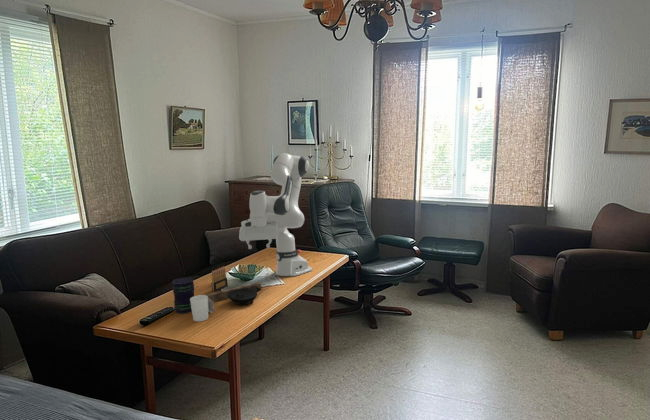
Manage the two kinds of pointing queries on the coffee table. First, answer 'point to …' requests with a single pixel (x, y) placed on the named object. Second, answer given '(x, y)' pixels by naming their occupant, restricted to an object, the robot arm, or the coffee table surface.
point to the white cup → (199, 307)
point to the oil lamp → (243, 295)
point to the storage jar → (183, 294)
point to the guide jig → (225, 295)
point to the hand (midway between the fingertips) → (259, 248)
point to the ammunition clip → (219, 279)
